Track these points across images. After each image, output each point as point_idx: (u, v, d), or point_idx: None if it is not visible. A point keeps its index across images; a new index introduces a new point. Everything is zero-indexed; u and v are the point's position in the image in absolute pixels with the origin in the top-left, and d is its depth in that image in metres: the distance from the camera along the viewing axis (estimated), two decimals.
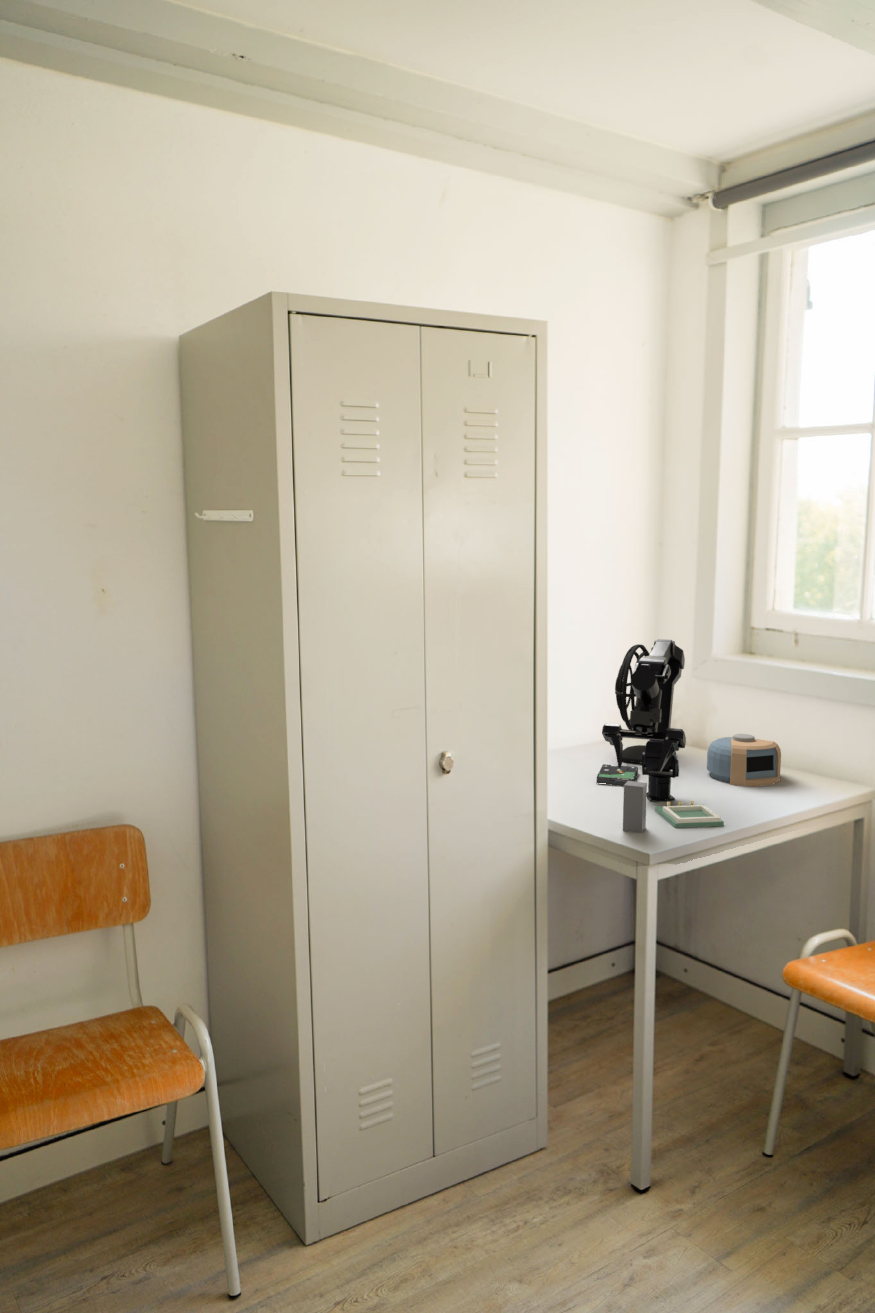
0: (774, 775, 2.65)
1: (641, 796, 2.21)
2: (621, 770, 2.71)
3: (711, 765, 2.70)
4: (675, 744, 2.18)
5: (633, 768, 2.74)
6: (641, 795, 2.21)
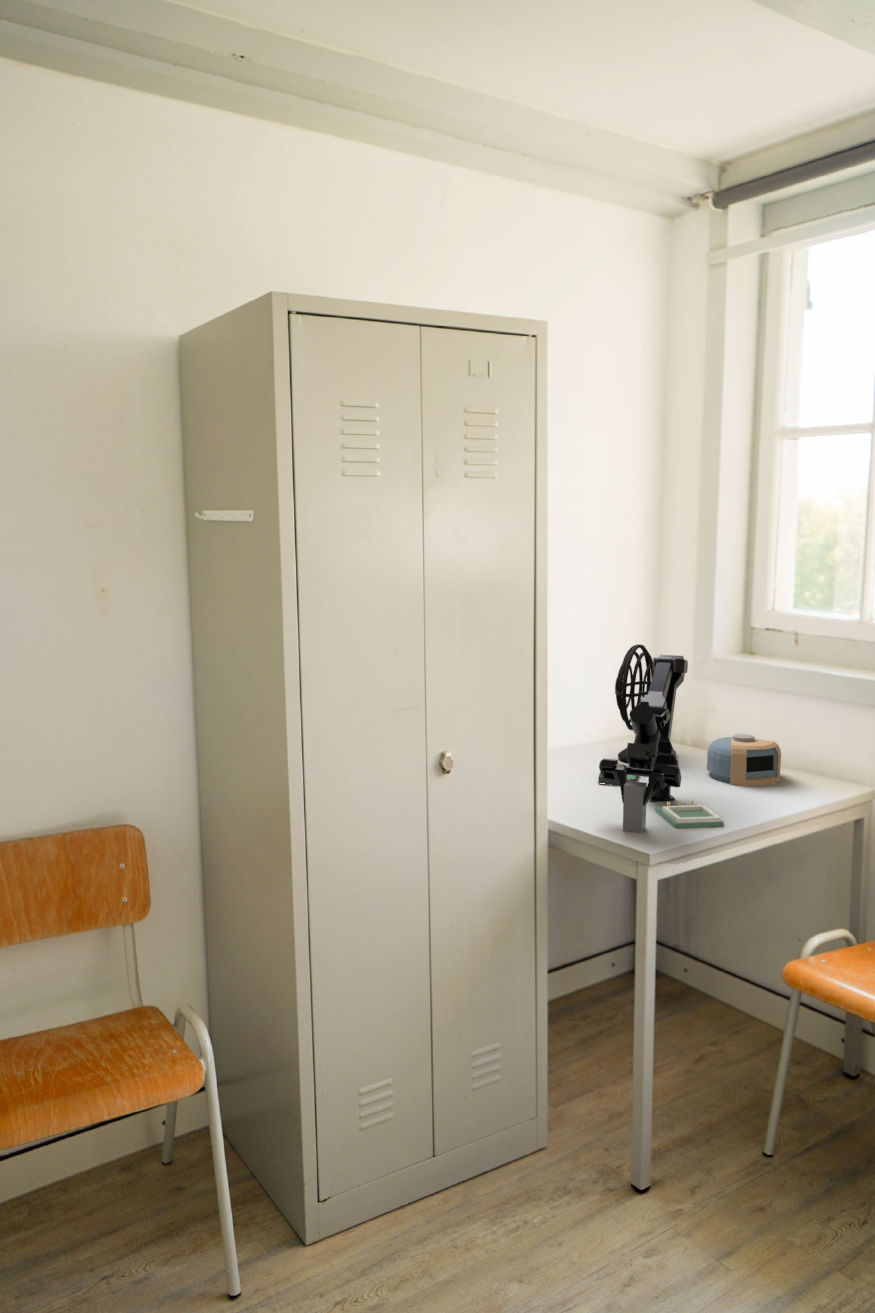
0: (774, 775, 2.65)
1: (641, 796, 2.21)
2: None
3: (711, 765, 2.70)
4: (660, 779, 2.22)
5: None
6: (641, 795, 2.21)
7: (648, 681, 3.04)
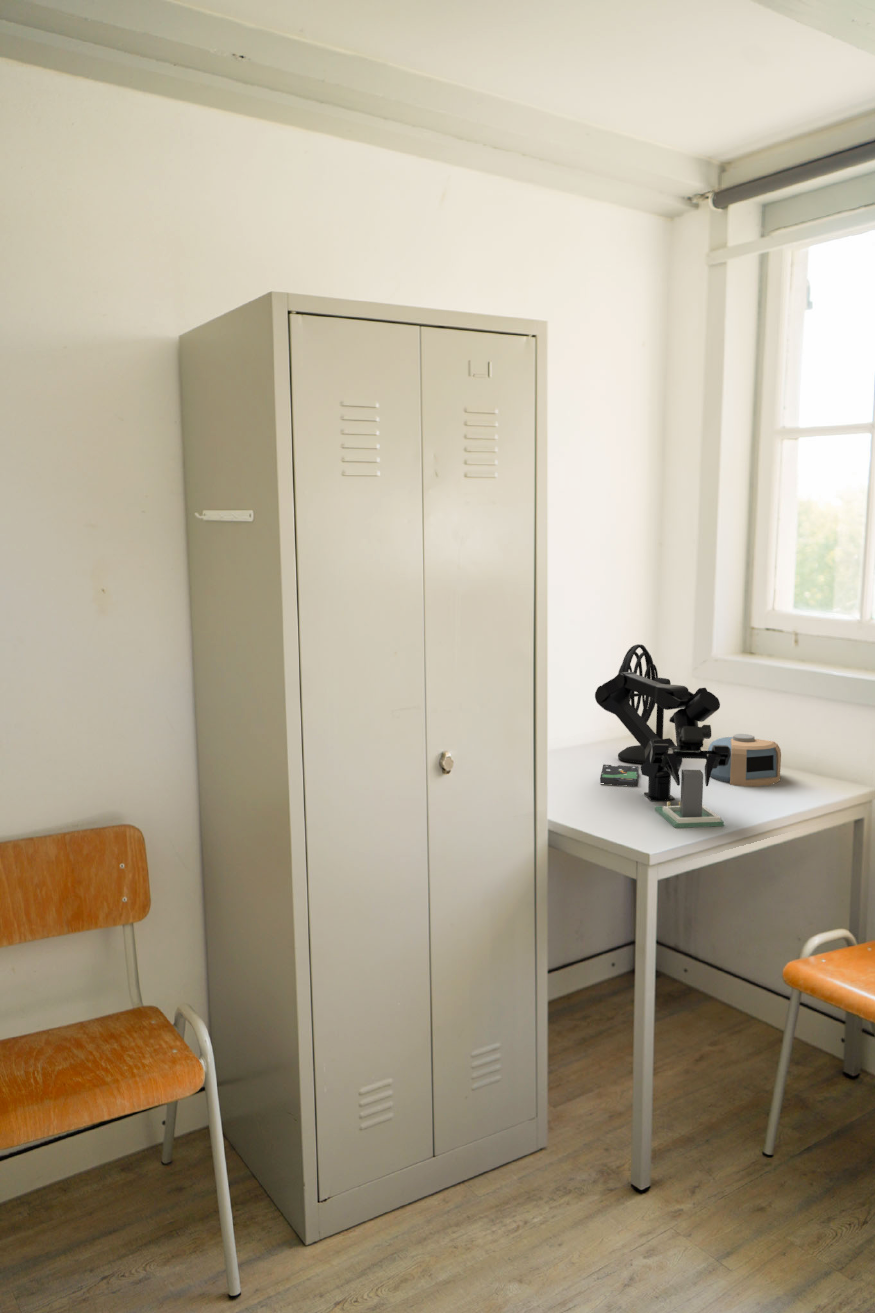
0: (774, 775, 2.65)
1: (701, 783, 2.28)
2: (623, 770, 2.71)
3: None
4: (718, 759, 2.31)
5: (634, 768, 2.74)
6: (701, 782, 2.28)
7: None
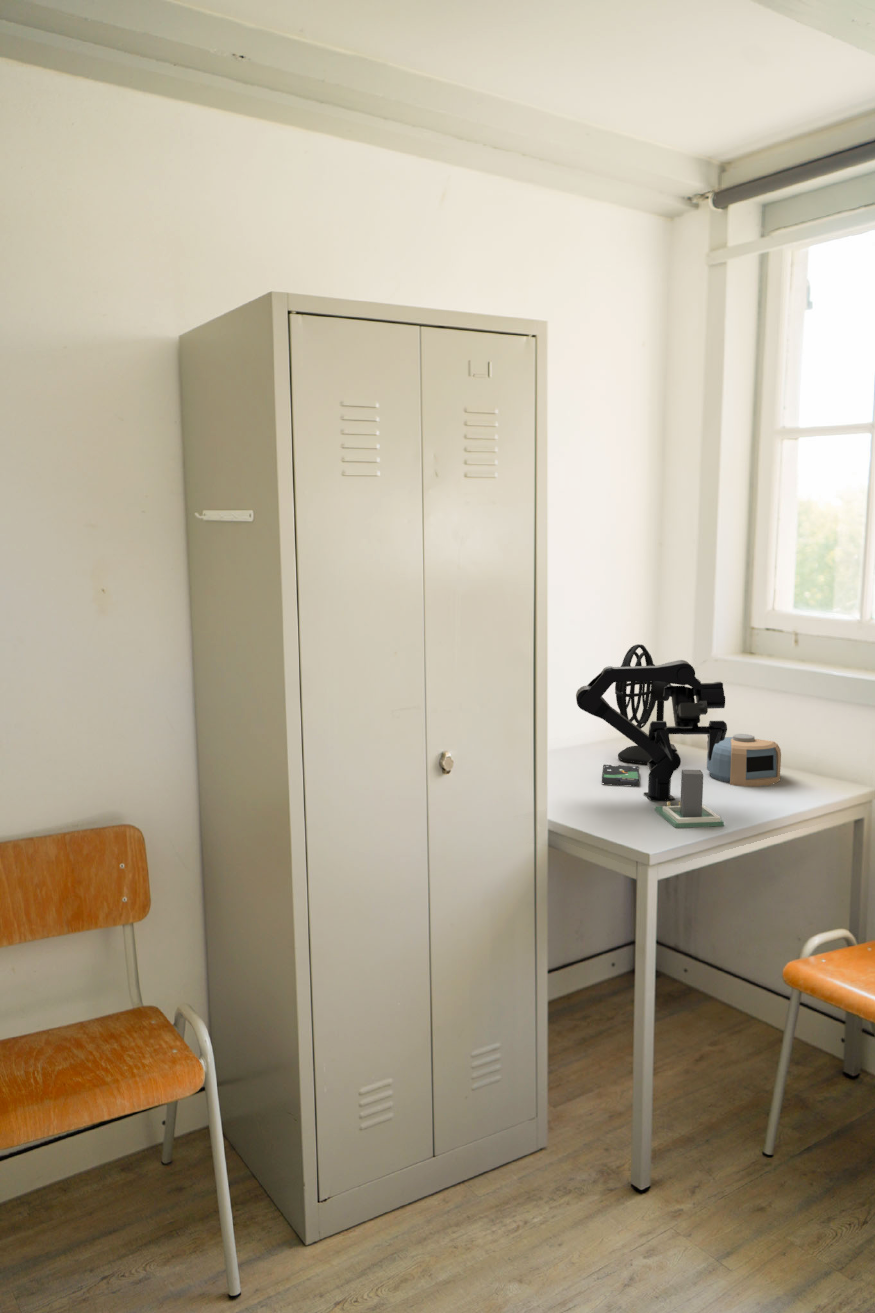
0: (774, 775, 2.65)
1: (701, 783, 2.28)
2: (623, 770, 2.71)
3: (711, 765, 2.70)
4: (720, 734, 2.37)
5: (634, 768, 2.74)
6: (701, 782, 2.28)
7: (648, 681, 3.04)
